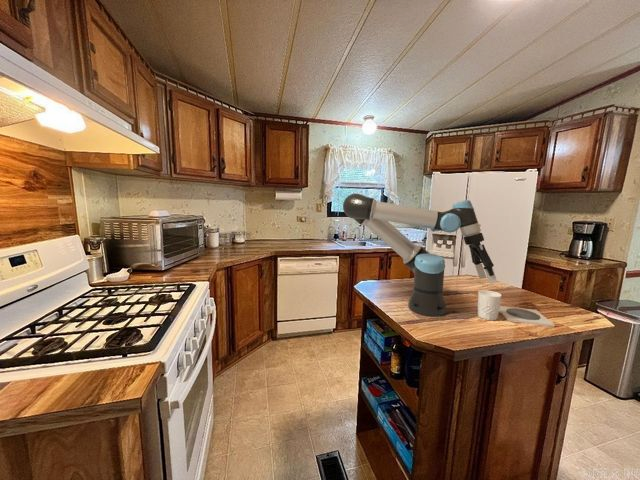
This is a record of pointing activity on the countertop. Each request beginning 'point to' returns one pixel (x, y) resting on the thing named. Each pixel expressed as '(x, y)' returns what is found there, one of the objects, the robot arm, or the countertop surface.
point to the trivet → (524, 316)
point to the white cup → (488, 304)
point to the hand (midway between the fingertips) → (488, 280)
